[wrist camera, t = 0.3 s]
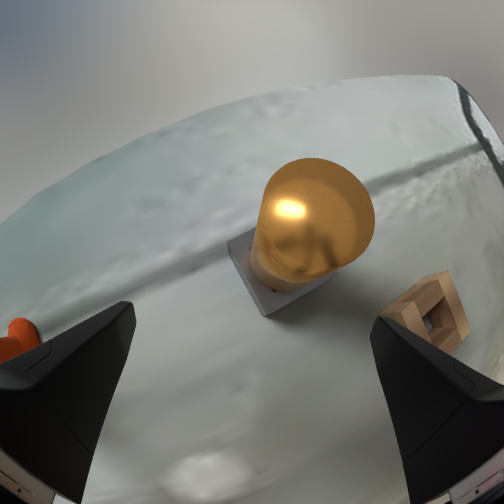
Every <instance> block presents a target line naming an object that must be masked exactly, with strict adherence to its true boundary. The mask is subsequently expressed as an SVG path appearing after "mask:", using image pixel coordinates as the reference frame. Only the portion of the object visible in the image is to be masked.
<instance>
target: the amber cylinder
mask: <svg viewBox="0 0 504 504" xmlns="http://www.w3.org/2000/svg"><path fill="white" fill-rule="evenodd" d="M374 227H375V214H374V208H373V205H372V201H371V199H370V197H369V194H368V192H367V191H366V189H365V187H364V186H363V185H362V183H361V182H360V181H359V180H358V179H357V178H356V177H355V176H354V175H353V174H352V173H351V172H350V171H348V170H347V169H345V168H344V167H342V166H340V165H338V164H336V163H334V162H331V161H328V160H324V159H318V158H305V159H299V160H296V161H293V162H290V163H288V164H286V165H284V166H283V167H281V168H280V169H279V170H278V171H277V172H276V173H275V174H274V175H273V176H272V177H271V179H270V180H269V182H268V184H267V186H266V188H265V191H264V195H263V200H262V204H261V209H260V213H259V218H258V222H257V227H256V231H255V236H254V240H253V245H252V249H251V255H250V263H251V267H252V270H253V273H254V275H255V276H256V278H257V279H258V280H259V281H260V282H261V283H262V284H263V285H264V286H266V287H267V288H269V289H272V290H274V291H279V292H288V291H293V290H296V289H298V288H300V287H302V286H304V285H306V284H308V283H310V282H312V281H315V280H317V279H319V278H321V277H323V276H325V275H327V274H329V273H331V272H333V271H335V270H337V269H339V268H341V267H343V266H345V265H347V264H348V263H350V262H352V261H354V260H355V259H357V258H358V257H359V256H360V255H361V254H362V253H363V252H364V251H365V249H366V248H367V247H368V245H369V243H370V241H371V239H372V236H373V232H374Z"/></svg>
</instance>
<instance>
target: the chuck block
mask: <svg viewBox="0 0 504 504" xmlns="http://www.w3.org/2000/svg"><path fill="white" fill-rule="evenodd" d="M255 231H256V228H254V229H252V230H250V231H248V232H246V233H244V234H242V235H240V236H238V237H236V238H234V239H232V240H230V241H228V242H227V244H228V252H229V256H230V258H231V259H232V261H233V263H234V265H235V267H236V269H237V271H238V273H239V274H240V276H241V278H242V280H243V282H244V284H245V285H246V287H247V289H248V291H249V293H250V295H251V297H252V298H253V300H254V302H255V304H256V306H257V308H258V309H259V311H260V313H261V315H262V316H267V315H269V314H271V313H273V312H274V311H276V310H278V309H280V308H282V307H283V306H285V305H287V304H289V303H290V302H292V301H294V300H296V299H297V298H299V297H301V296H303V295H304V294H306V293H308V292H309V291H311V290H313V289H315V288H316V287H318V286H320V285H321V284H323V283H325V282H326V281H328V280H330V279H331V278H333V277H334V276H336V275H337V274H336V273H335V271H333V272H331V273H329V274H327V275H325V276H323V277H321V278H319V279H317V280H315V281H312V282H310V283H308V284H306V285H304V286H302V287H300V288H298V289H296V290H293V291H288V292H279V291H276V292H273V290H272V289H269V288H267V287H266V286H264V285H263V284H262V283H261V282H260V281H259V280H258V279H257V278H256V276H255V275H254V273H253V270H252V267H251V263H250V255H251V249H252V245H253V240H254V236H255Z"/></svg>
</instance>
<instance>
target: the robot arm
mask: <svg viewBox="0 0 504 504" xmlns="http://www.w3.org/2000/svg"><path fill="white" fill-rule="evenodd" d="M135 328H136V317H135V311H134V306H133V303H132V302H128V301H120V302H119V303H117V304H115V305H113V306H111V307H109V308H107V309H105V310H104V311H102V312H100V313H98V314H96V315H94V316H92V317H90V318H89V319H87V320H85V321H83V322H81V323H79V324H78V325H76V326H74V327H72V328H70V329H68V330H66V331H65V332H63V333H61V334H59V335H57V336H56V337H54V338H52V339H50V340H48V341H46V342H45V343H43V344H41V345H39V346H37V347H35V348H33V349H31V350H29V351H27V352H25V353H23V354H20V355H18V356H16V357H14V358H12V359H9V360H7V361H5V362H3V363H0V504H53V501H54V498H55V494H57V495H59V496H61V497H63V498H65V499H67V500H69V501H71V502H73V503H75V504H81V502H82V498H83V493H84V489H85V485H86V481H87V477H88V474H89V470H90V466H91V463H92V459H93V455H94V452H95V448H96V445H97V442H98V439H99V436H100V432H101V429H102V426H103V423H104V420H105V417H106V414H107V411H108V408H109V406H110V403H111V400H112V397H113V394H114V392H115V389H116V386H117V384H118V381H119V378H120V376H121V373H122V370H123V368H124V365H125V363H126V360H127V356H128V353H129V349H130V345H131V342H132V338H133V335H134V331H135ZM370 341H371V345H372V350H373V354H374V359H375V364H376V368H377V372H378V375H379V379H380V382H381V385H382V388H383V391H384V395H385V398H386V401H387V405H388V408H389V412H390V415H391V419H392V422H393V426H394V430H395V434H396V438H397V442H398V446H399V450H400V454H401V458H402V463H403V468H404V473H405V477H406V482H407V487H408V493H409V498H410V504H426V503H428V502H431V501H433V500H435V499H437V498H439V497H441V496H443V495H445V494H447V493H448V494H449V497H450V501H448V502H446V503H445V504H504V385H502V384H499V383H497V382H495V381H494V380H492V379H490V378H488V377H486V376H484V375H482V374H481V373H479V372H477V371H475V370H473V369H472V368H470V367H468V366H466V365H465V364H463V363H462V362H460V361H458V360H457V359H455V358H454V357H453V358H452V356H450V355H449V354H447V353H446V352H444V351H442V350H441V349H439V348H438V347H436V346H434V345H433V344H431V343H430V342H428V341H427V340H425V339H423V338H422V337H420V336H418V335H417V334H415V333H414V332H412V331H410V330H409V329H407V328H406V327H404V326H402V325H401V324H399V323H397V322H396V321H394V320H393V319H391V318H389V317H387V316H379V317H377V318H376V320H375V323H374V326H373V328H372V331H371V334H370Z"/></svg>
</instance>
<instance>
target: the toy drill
mask: <svg viewBox="0 0 504 504" xmlns="http://www.w3.org/2000/svg"><path fill="white" fill-rule="evenodd" d="M8 328H9V329H8V337H2V338H0V363H3V362H5V361H7V360H9V359H12V358H14V357H16V356H18V355H20V354H23V353H25V352H27V351H29V350H31V349H33V348H35V347H37V346H39V345H40V342H39V339H38V335H37V332H36V330H35V328H34V326H33V324H32V323H31V322H30V321H28V320H27V319H25V318H17V319H14V320H13V321H12V322H11V323H10V324H9V326H8Z"/></svg>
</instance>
